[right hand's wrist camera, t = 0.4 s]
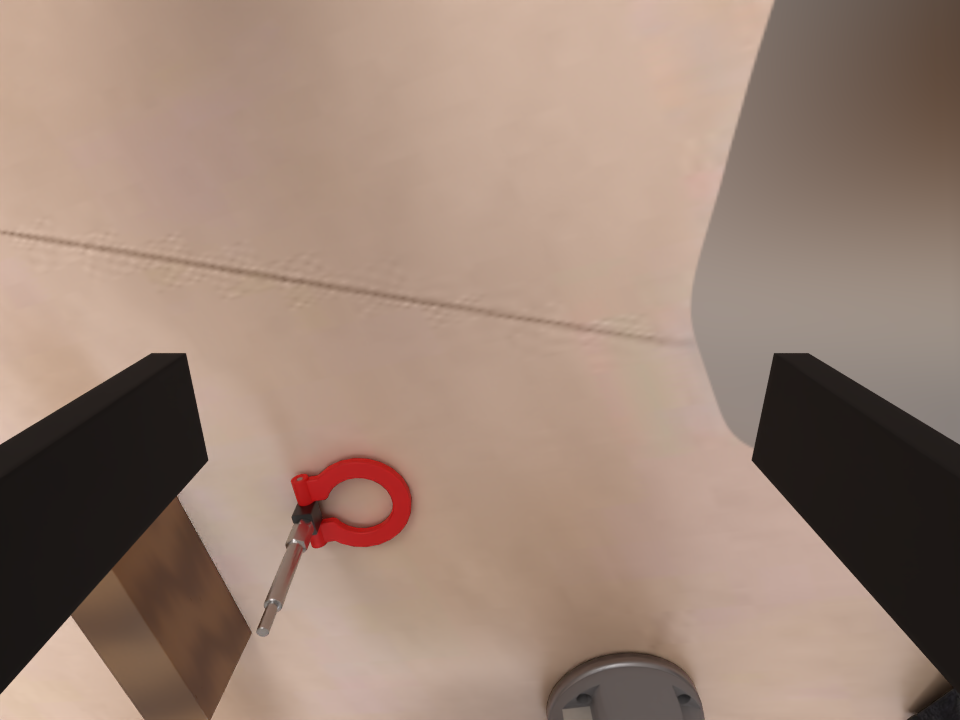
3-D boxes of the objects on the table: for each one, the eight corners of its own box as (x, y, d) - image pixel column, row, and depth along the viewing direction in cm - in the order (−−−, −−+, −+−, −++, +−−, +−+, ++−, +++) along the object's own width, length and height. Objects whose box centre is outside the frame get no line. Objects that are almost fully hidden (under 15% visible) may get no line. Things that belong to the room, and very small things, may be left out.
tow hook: (401, 448, 44) (289, 464, 44) (382, 559, 32) (228, 582, 32) (420, 530, 47) (315, 546, 47) (409, 661, 35) (268, 681, 35)
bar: (252, 632, 51) (209, 722, 43) (203, 642, 51) (153, 732, 43) (138, 427, 43) (61, 490, 35) (82, 441, 43) (-7, 506, 35)
